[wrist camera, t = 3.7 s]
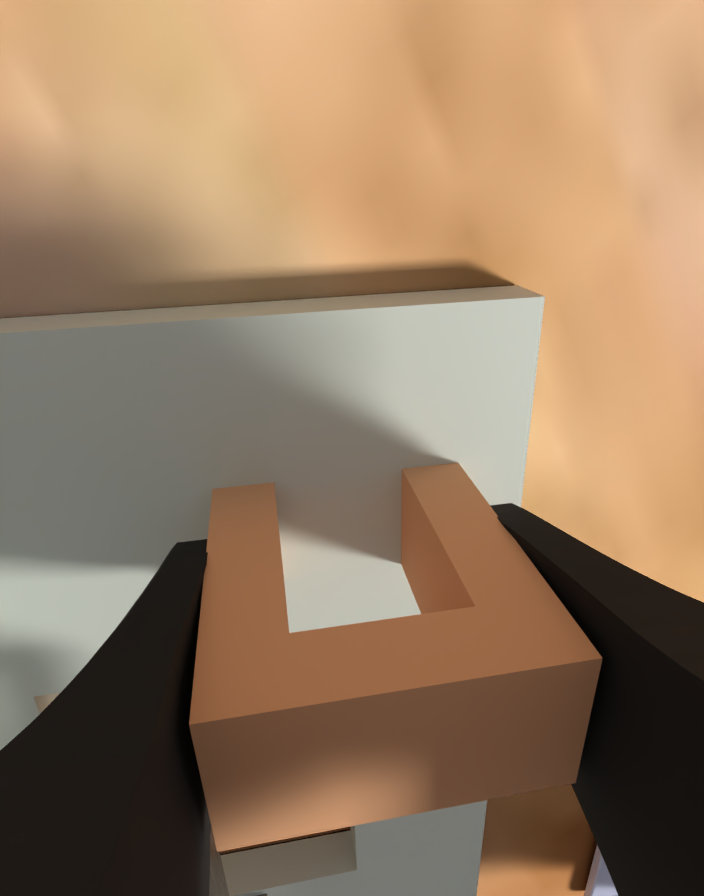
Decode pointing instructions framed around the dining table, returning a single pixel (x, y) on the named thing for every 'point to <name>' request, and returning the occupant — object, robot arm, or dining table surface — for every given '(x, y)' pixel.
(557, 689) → the peach u-shaped bracket
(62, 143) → the dining table surface
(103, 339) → the grey base plate
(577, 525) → the dining table surface
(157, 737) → the robot arm
